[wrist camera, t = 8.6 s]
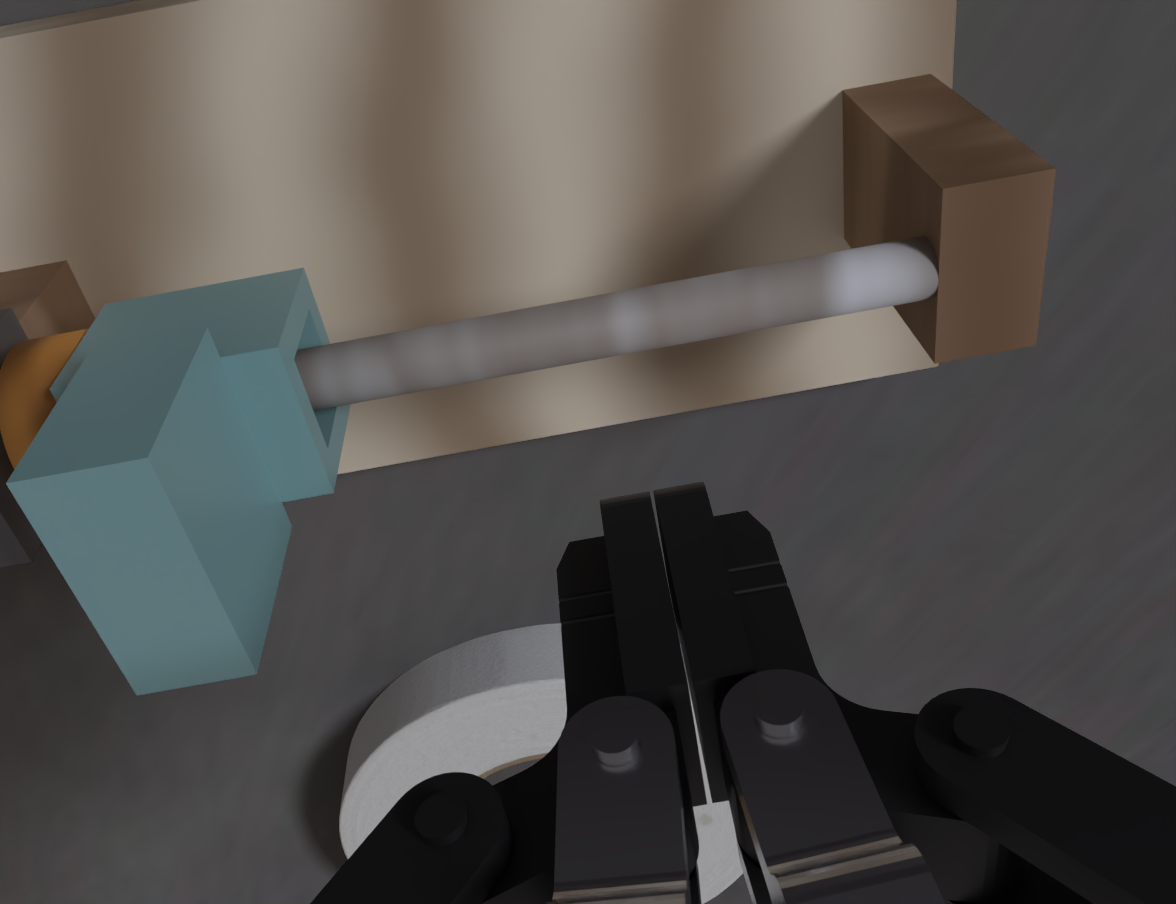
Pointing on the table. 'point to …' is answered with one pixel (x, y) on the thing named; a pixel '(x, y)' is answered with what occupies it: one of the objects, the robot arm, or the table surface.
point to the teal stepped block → (182, 472)
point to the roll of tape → (486, 735)
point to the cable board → (516, 203)
